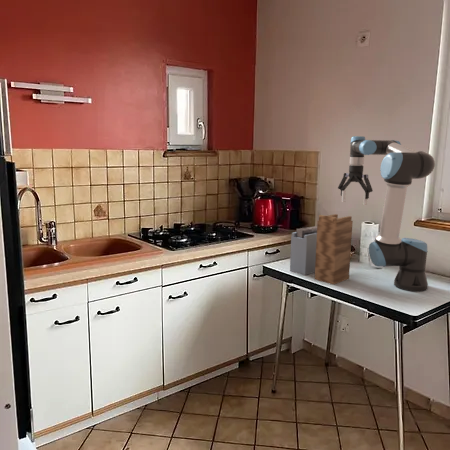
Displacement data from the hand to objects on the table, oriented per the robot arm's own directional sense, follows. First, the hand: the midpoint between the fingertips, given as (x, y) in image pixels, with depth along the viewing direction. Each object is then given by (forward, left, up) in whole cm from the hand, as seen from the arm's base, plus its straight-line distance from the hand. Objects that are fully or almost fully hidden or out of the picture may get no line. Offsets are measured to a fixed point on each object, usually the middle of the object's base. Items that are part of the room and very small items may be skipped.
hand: (353, 203), depth 254 cm
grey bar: (+8, +26, -16) cm, 31 cm away
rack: (+8, +31, -35) cm, 47 cm away
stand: (-10, +33, -35) cm, 49 cm away
